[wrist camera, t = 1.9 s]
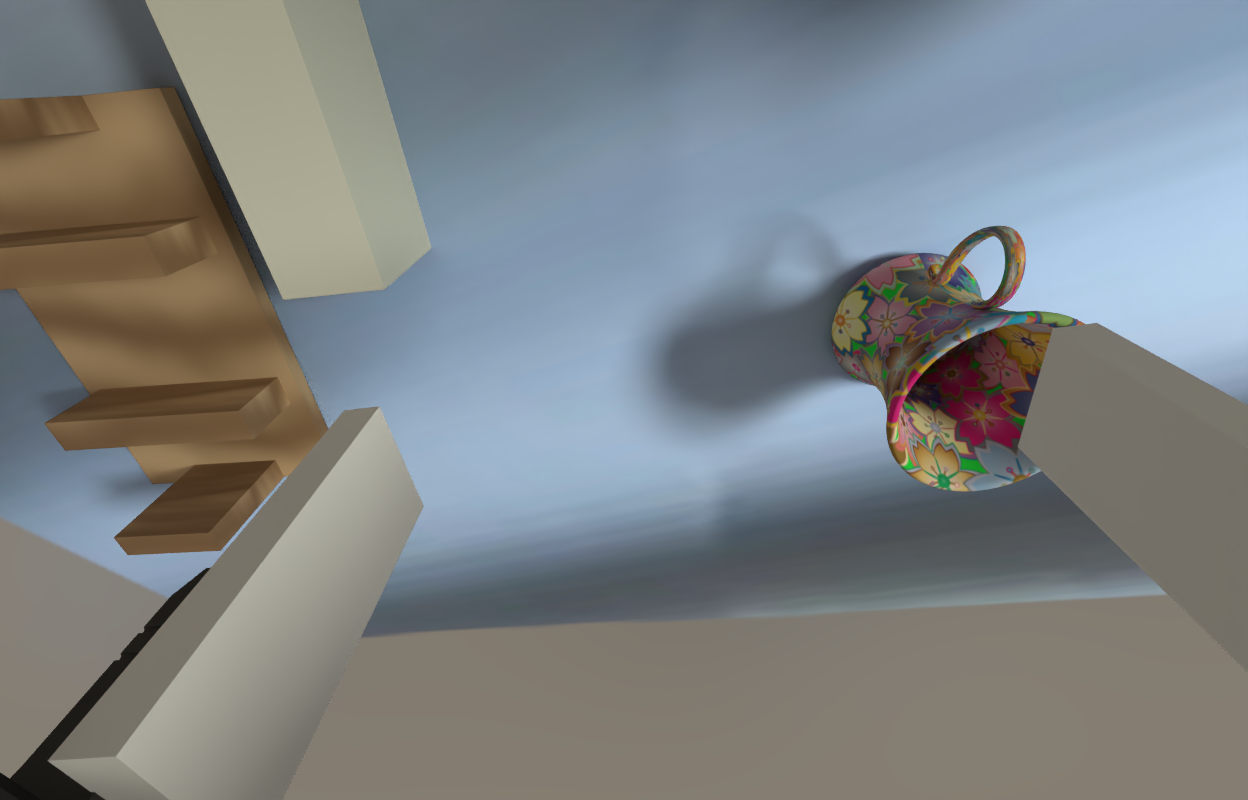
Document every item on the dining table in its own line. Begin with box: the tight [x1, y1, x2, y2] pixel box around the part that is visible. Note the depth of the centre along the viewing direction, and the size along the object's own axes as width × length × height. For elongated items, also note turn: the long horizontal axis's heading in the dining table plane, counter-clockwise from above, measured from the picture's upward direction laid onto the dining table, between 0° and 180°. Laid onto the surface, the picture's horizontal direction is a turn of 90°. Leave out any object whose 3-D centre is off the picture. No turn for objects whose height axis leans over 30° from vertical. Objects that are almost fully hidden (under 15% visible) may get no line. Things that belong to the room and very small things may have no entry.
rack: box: [0, 87, 328, 555], centre depth 30 cm, size 24×14×8 cm, turn 5°
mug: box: [831, 226, 1084, 491], centre depth 28 cm, size 12×9×11 cm
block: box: [145, 0, 431, 300], centre depth 24 cm, size 16×5×7 cm, turn 6°
